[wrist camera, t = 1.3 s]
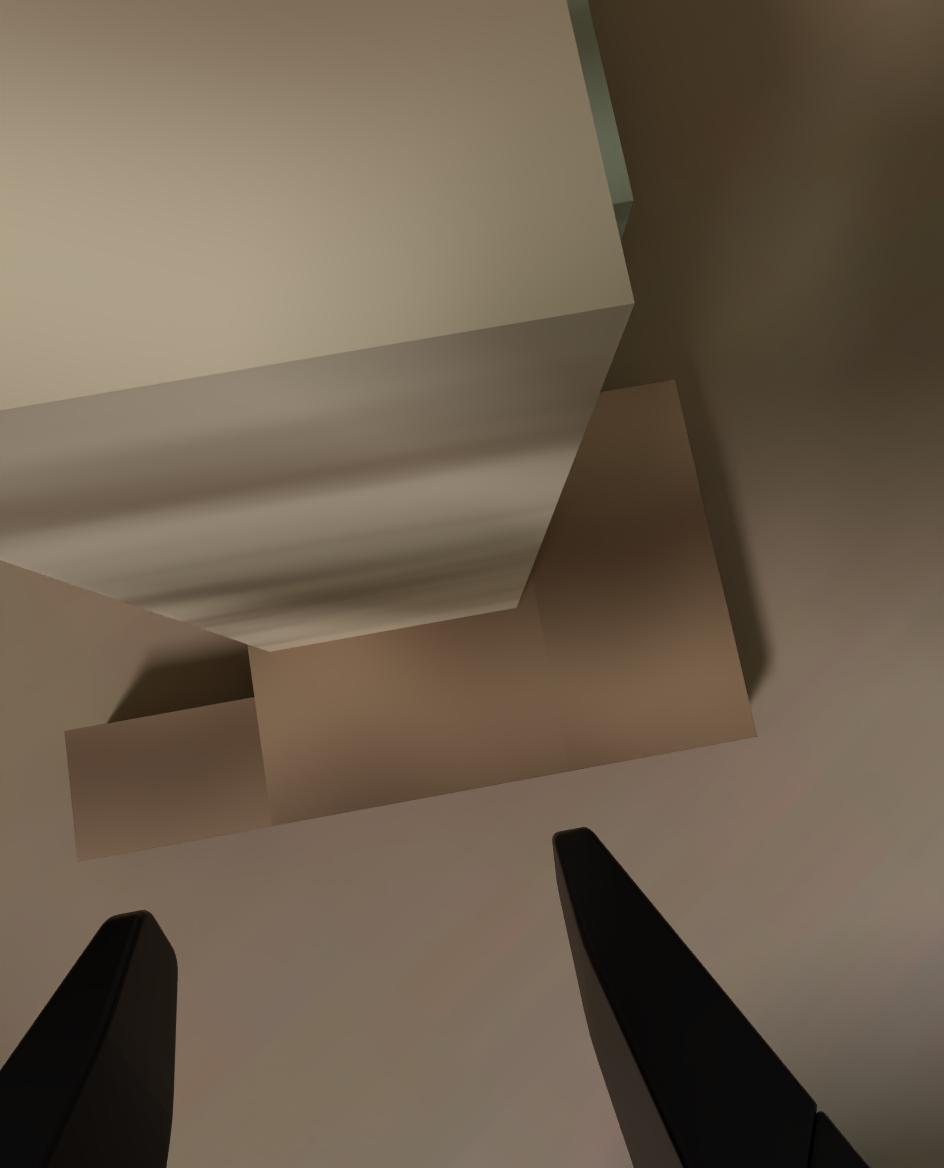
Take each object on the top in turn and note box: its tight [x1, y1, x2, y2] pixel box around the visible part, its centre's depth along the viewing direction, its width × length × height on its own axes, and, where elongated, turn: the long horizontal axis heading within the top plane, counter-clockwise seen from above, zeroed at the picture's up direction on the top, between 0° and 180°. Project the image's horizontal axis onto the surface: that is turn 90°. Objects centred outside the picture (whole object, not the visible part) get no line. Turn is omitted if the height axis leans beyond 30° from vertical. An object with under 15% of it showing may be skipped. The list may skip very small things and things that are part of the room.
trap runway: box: [65, 0, 757, 862], centre depth 21 cm, size 24×16×5 cm, turn 10°
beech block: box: [0, 0, 635, 652], centre depth 13 cm, size 8×6×15 cm
